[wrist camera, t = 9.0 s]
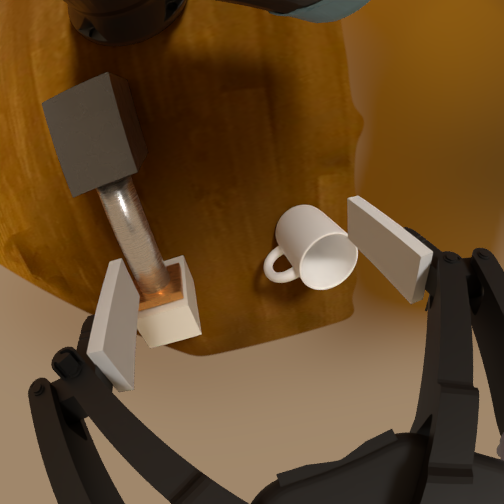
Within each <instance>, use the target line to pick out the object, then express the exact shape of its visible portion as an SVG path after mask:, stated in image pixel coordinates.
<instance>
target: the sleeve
mask: <svg viewBox="0 0 504 504" xmlns="http://www.w3.org/2000/svg"><path fill="white" fill-rule="evenodd" d="M42 106H43V110H44V114H45V117H46V121H47V124H48V128H49V131H50V134H51V137H52V141H53V144H54V147H55V150H56V153H57V156H58V159H59V162H60V164H61V167H62V170H63V173H64V176H65V178H66V181H67V183H68V186H69V189H70V191H71V194H72V196H73V197H76V196H78V195H80V194H83V193H85V192H87V191H90V190H92V189H95V188H97V187H100V186H102V185H105V184H107V183H110V182H112V181H115V180H118V179H120V178H123V177H126V176H128V175H131V174H134V173H137V172H138V170H139V168H140V167H141V165H142V163H143V161H144V159H145V157H146V156H147V154H148V150H147V147H146V144H145V140H144V137H143V134H142V130H141V127H140V123H139V120H138V116H137V113H136V109H135V106H134V102H133V98H132V95H131V91H130V87H129V83H128V80H127V79H124V78H122V77H120V76H117V75H115V74H113V73H110V72H106V73H104V74H101V75H99V76H96V77H94V78H92V79H89V80H87V81H85V82H83V83H81V84H78V85H76V86H74V87H72V88H70V89H68V90H66V91H64V92H62V93H60V94H58V95H56V96H54V97H52V98H50V99H48V100H47V101H45V102H43V103H42Z"/></svg>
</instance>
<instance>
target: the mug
mask: <svg viewBox="0 0 504 504" xmlns="http://www.w3.org/2000/svg"><path fill="white" fill-rule="evenodd" d="M276 240H277V243H278V245H279V246H277V247H276V248H275V249H273V250H272V251H271V252H270V253H269V254H268V256H267V257H266V259H265V261H264V267H263V269H264V273H265V275H266V277H267V278H268V279H269V280H271V281H273V282H276V283H285V282H289V281H292V280H294V279H297V278H298V277H300V278H301V280H302V281H303V283H304V284H305V285H307V286H308V287H310V288H312V289H316V290H325V289H330V288H333V287H335V286H337V285H338V284H340V283H341V282H343V281H344V280H345V279H346V278H347V277H348V276H349V275H350V274H351V272H352V271H353V269H354V267H355V265H356V262H357V258H358V249H357V247H356V246H355V245H354V244H353V243H352V242H351V241H350V240H349V239H348V234H347V233H346V232H345V231H344V230H343V229H342V228H340V227H339V226H338V225H337V224H336V223H335V222H333V221H332V220H331V219H330V218H329V217H328V216H326V215H325V214H324V213H323V212H322V211H320V210H319V209H317V208H316V207H314V206H311V205H298V206H295V207H292V208H291V209H289V210H288V211H286V212H285V213H284V214H283V215H282V216H281V218H280V219H279V221H278V224H277V226H276ZM283 254H285V256H286V257H287V259H288V260H289V262H290V263H291V265H292V266H293V267H291V268H290V269H288V270H286V271H284V272H275V271H274V270H273V264H274V262H275V260H276V259H277V258H279V257H280V256H282V255H283Z"/></svg>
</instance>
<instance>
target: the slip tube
mask: <svg viewBox="0 0 504 504" xmlns="http://www.w3.org/2000/svg"><path fill="white" fill-rule="evenodd" d="M96 190H97V193H98V195H99V198H100V200H101V203H102V206H103V208H104V210H105V213H106V215H107V218H108V220H109V222H110V225H111V227H112V230H113V232H114V234H115V236H116V239H117V241H118V243H119V245H120V248H121V250H122V252H123V254H124V256H125V258H126V261H127V263H128V265H129V267H130V269H131V271H132V273H133V275H134V282H133V283H134V285H135V287H136V290H137V292H138V294H139V296H140V299H139V309H138V311H141V310H145V309H148V308H151V307H155V306H158V305H162V304H165V303H168V302H172V301H175V300H178V299H182V298H184V295H183V283H182V270H181V266H180V264H179V262H178V263H175V264H172V265H169V266H165V264H164V261H163V259H162V256H161V254H160V252H159V249H158V247H157V244H156V242H155V239H154V237H153V234H152V232H151V229H150V226H149V224H148V221H147V219H146V216H145V213H144V211H143V208H142V205H141V203H140V200H139V197H138V194H137V192H136V189H135V186H134V183H133V180H132V177H131V175H128V176H126V177H123V178H120V179H118V180H115V181H112V182H110V183H107V184H105V185H102V186H100V187H97V188H96Z"/></svg>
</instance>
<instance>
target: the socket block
mask: <svg viewBox="0 0 504 504" xmlns="http://www.w3.org/2000/svg"><path fill="white" fill-rule="evenodd" d="M178 262H179V264H180V266H181V270H182V283H183V295H184V298H182V299H178V300H175V301H172V302H168V303H165V304H162V305H158V306H155V307H151V308H148V309H145V310H141V311H138V320H137V329H138V331H139V332H140V334H141V335H142V337H143V339H144V340H145V342H146V343H147V345H148V346H149V348H154V347H158V346H162V345H165V344H169V343H173V342H176V341H180V340H184V339H187V338H191V337H194V336H198V335H201V334H202V333H201V327H200V321H199V314H198V308H197V301H196V294H195V287H194V281H193V279H192V276H191V274H190V271H189V268H188V266H187V263H186V261H185V258H184V255H182V256H179V257H176V258H172V259H169V260H166V261H164V264H165V266H169V265H172V264H175V263H178Z"/></svg>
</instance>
